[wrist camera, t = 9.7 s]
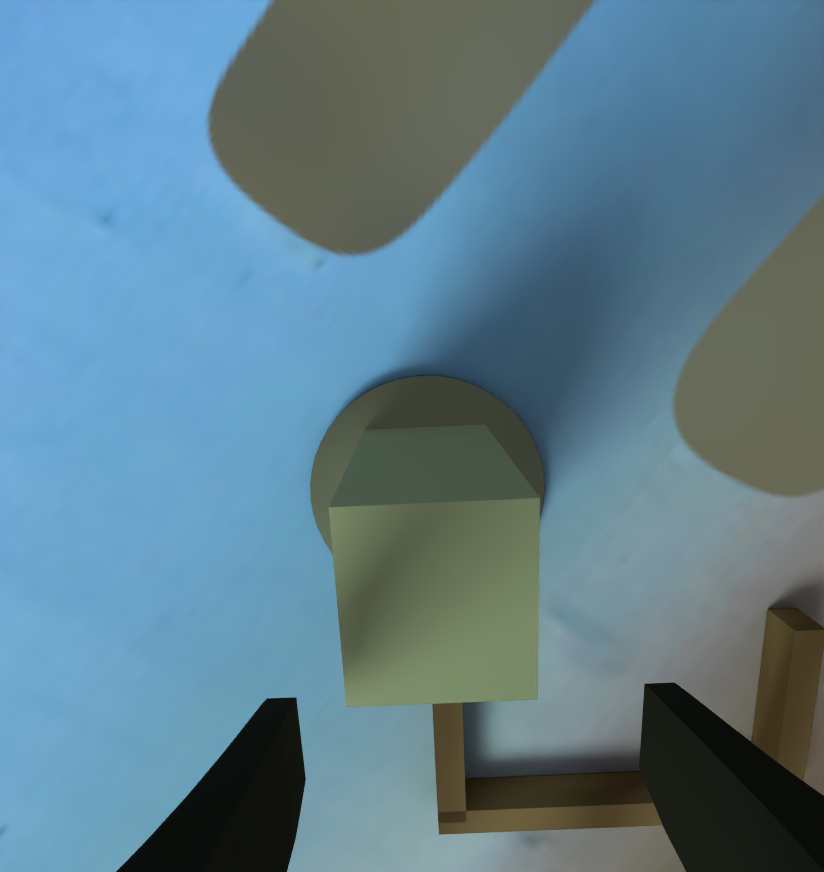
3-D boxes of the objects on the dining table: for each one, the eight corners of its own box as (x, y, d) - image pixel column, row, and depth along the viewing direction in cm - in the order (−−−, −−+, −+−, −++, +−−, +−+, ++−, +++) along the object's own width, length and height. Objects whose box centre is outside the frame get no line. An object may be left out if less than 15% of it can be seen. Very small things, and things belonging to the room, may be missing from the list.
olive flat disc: (541, 368, 18) (545, 369, 18) (540, 587, 20) (543, 594, 20) (301, 381, 18) (298, 382, 18) (323, 597, 20) (321, 604, 20)
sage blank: (484, 424, 18) (539, 498, 10) (486, 548, 19) (537, 699, 11) (364, 429, 18) (328, 507, 10) (372, 553, 19) (346, 707, 12)
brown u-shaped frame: (796, 608, 20) (826, 629, 19) (772, 787, 22) (797, 819, 21) (428, 624, 21) (429, 647, 19) (437, 801, 23) (439, 834, 21)
